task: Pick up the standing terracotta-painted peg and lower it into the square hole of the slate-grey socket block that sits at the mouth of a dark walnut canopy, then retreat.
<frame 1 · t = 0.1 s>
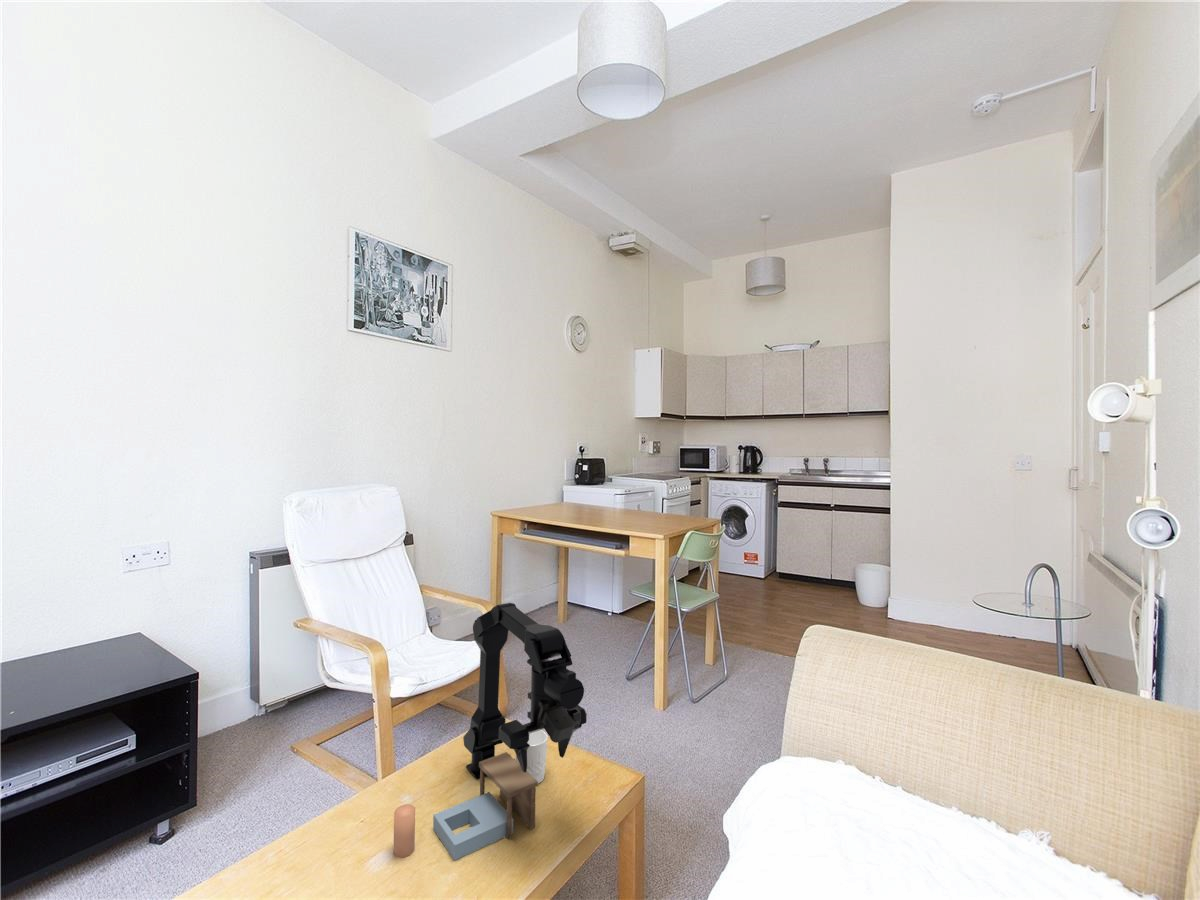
hand: (543, 763, 115), 15 cm above the table, fingers open, 9 cm apart
socket block: (461, 835, 114), on the table
peg: (404, 850, 109), on the table
white cup: (530, 778, 135), on the table
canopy: (507, 793, 120), on the table
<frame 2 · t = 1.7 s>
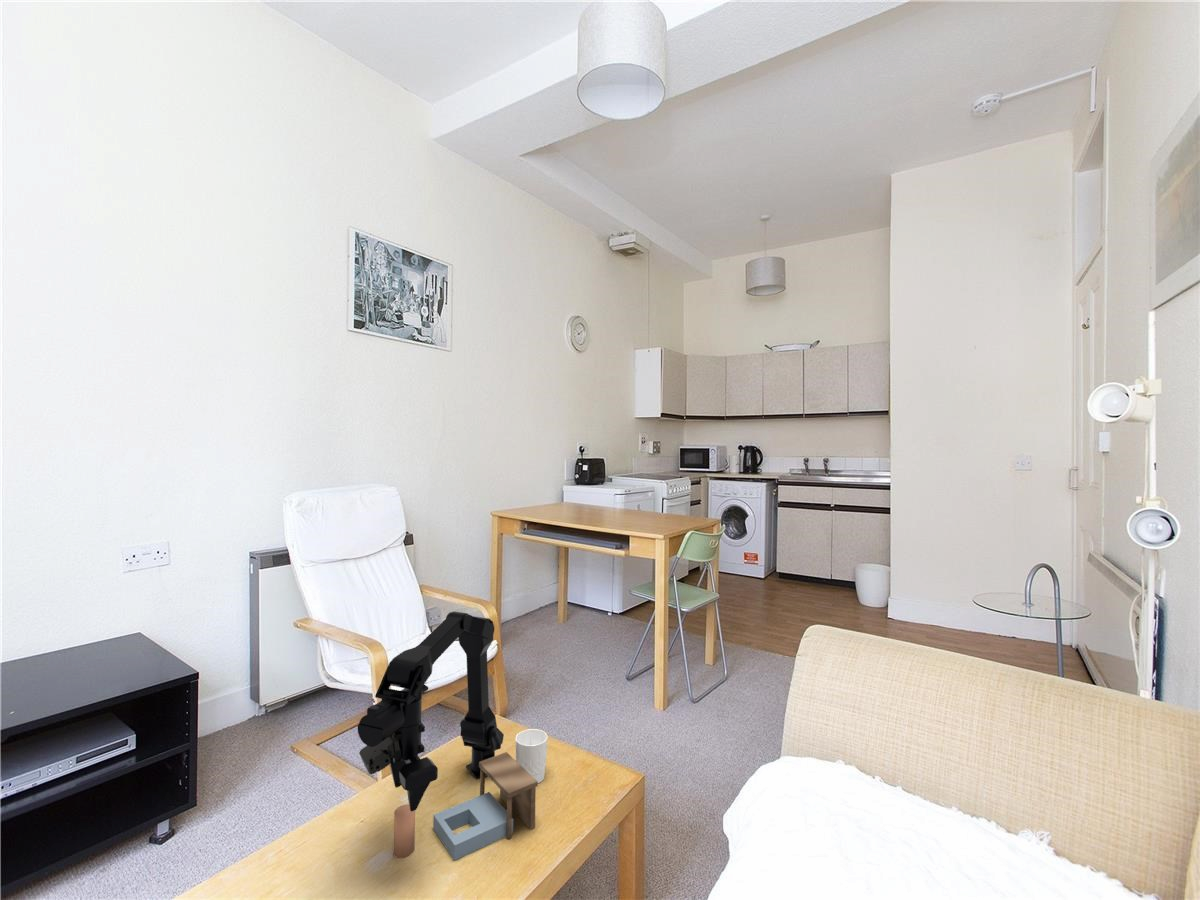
hand: (405, 798, 110), 10 cm above the table, fingers open, 9 cm apart
nothing on the table moved.
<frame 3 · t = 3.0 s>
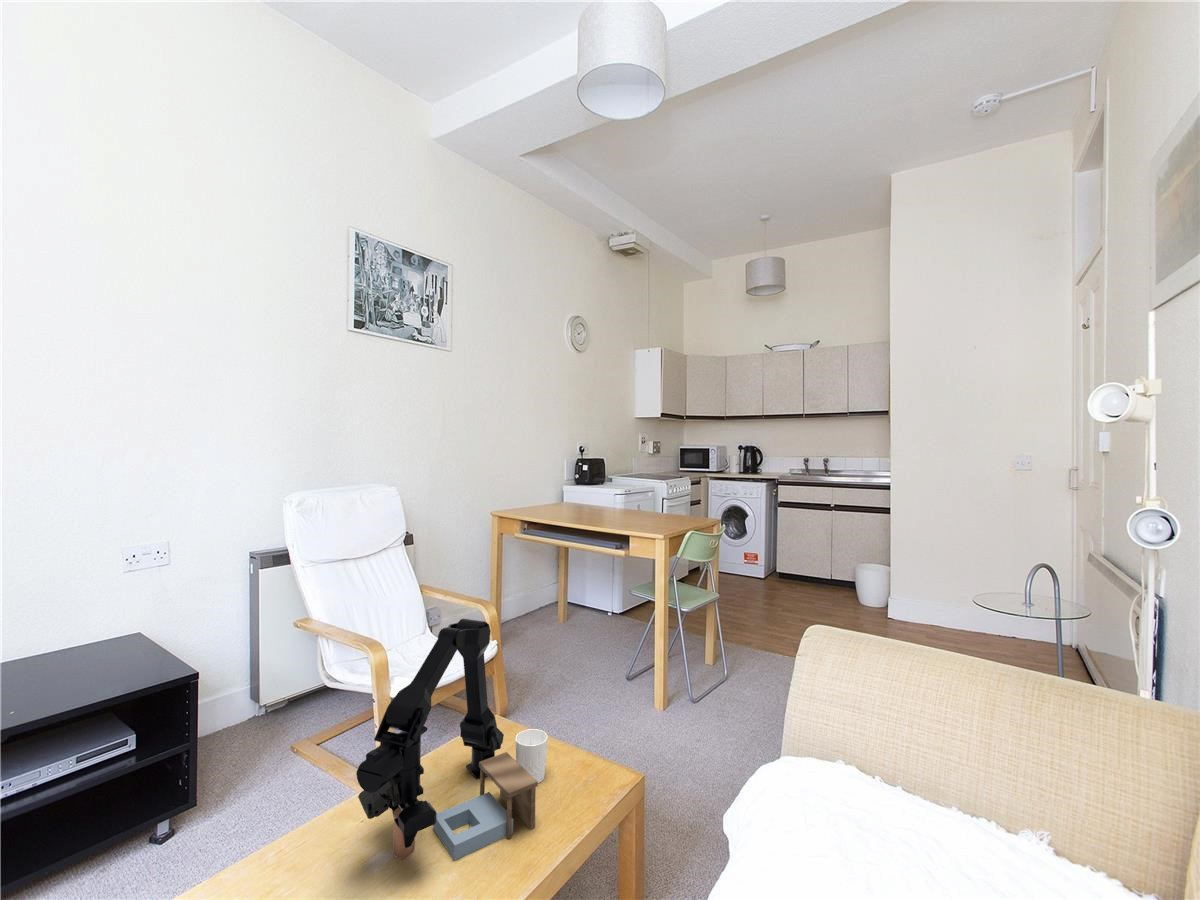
hand: (404, 840, 110), 2 cm above the table, fingers closed on peg, 4 cm apart
peg: (404, 850, 109), on the table, touching gripper
everything else where it was.
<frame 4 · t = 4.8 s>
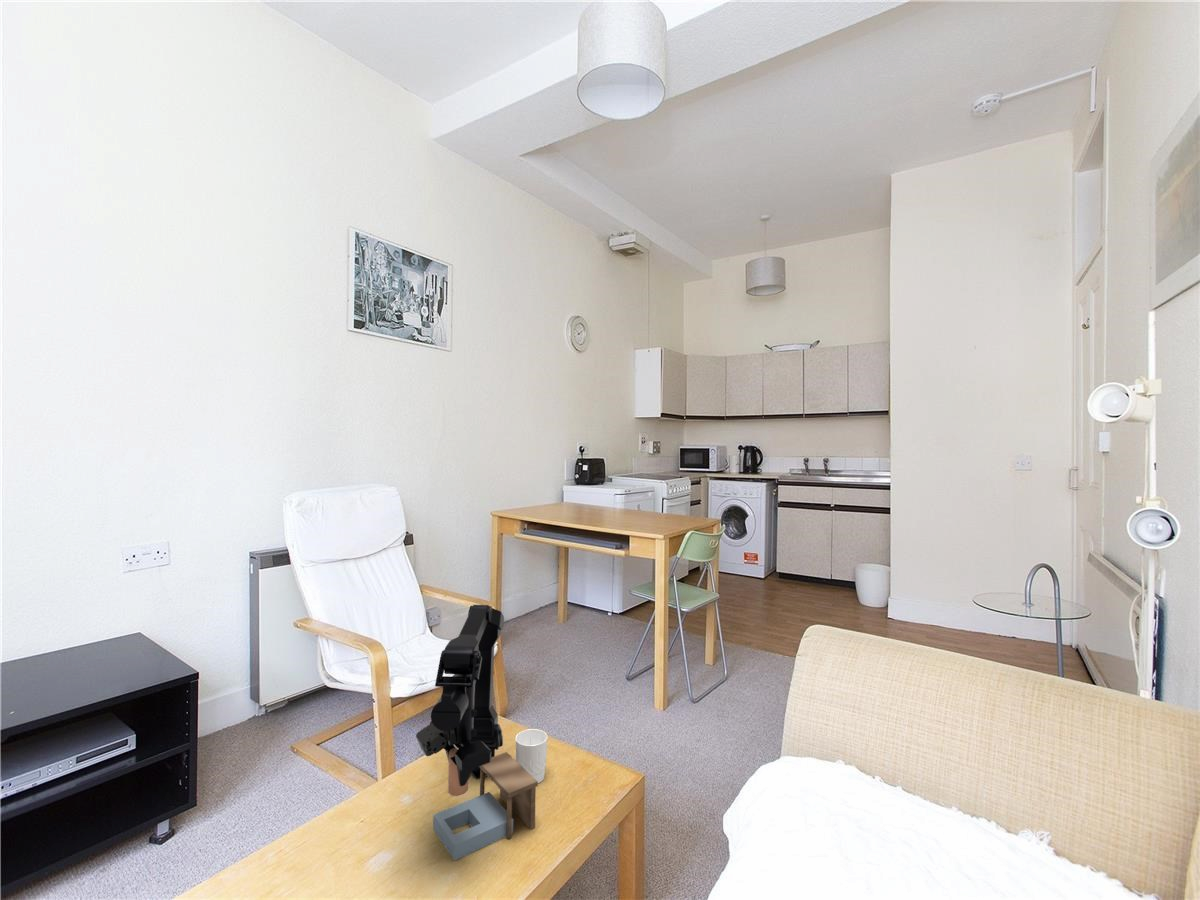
hand: (458, 780, 114), 12 cm above the table, fingers closed on peg, 4 cm apart
peg: (458, 789, 114), point 10 cm above the table, touching gripper
everything else where it was.
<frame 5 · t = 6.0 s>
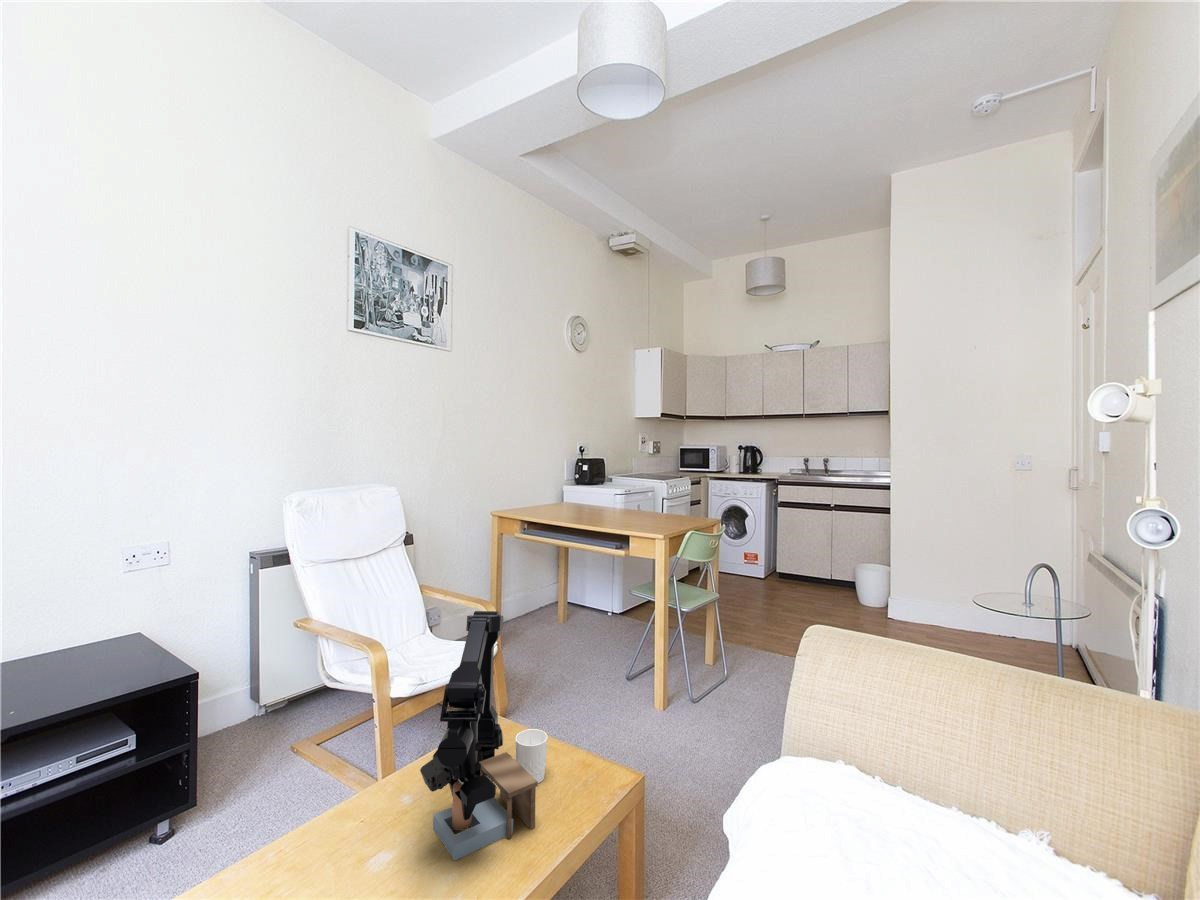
hand: (462, 813, 114), 5 cm above the table, fingers closed on peg, 4 cm apart
peg: (461, 823, 114), point 3 cm above the table, touching gripper
everything else where it was.
when the fingers open (3 cm above the table, at t = 6.6 s): peg stays where it is, resting in socket block.
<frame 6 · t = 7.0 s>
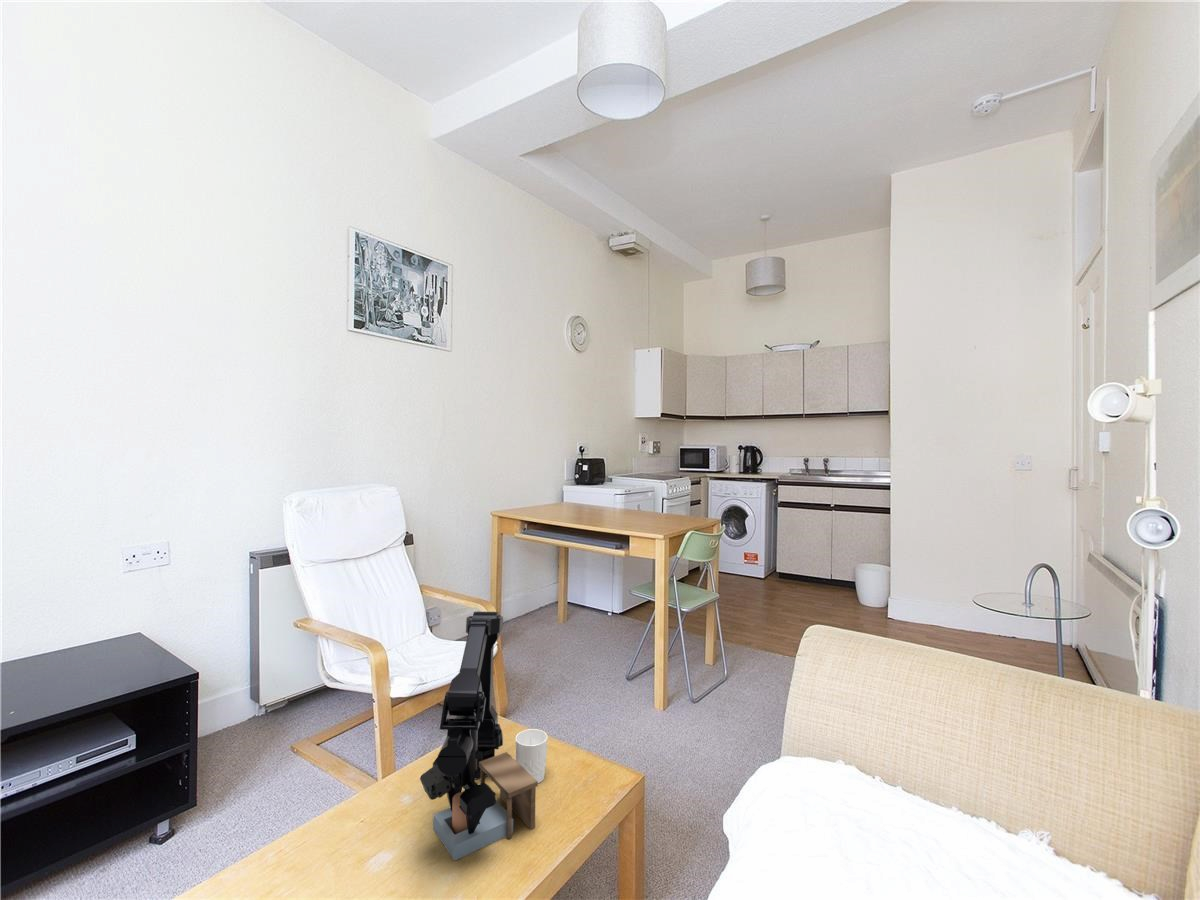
hand: (462, 821, 114), 3 cm above the table, fingers open, 8 cm apart
peg: (461, 835, 114), resting in socket block
everything else where it was.
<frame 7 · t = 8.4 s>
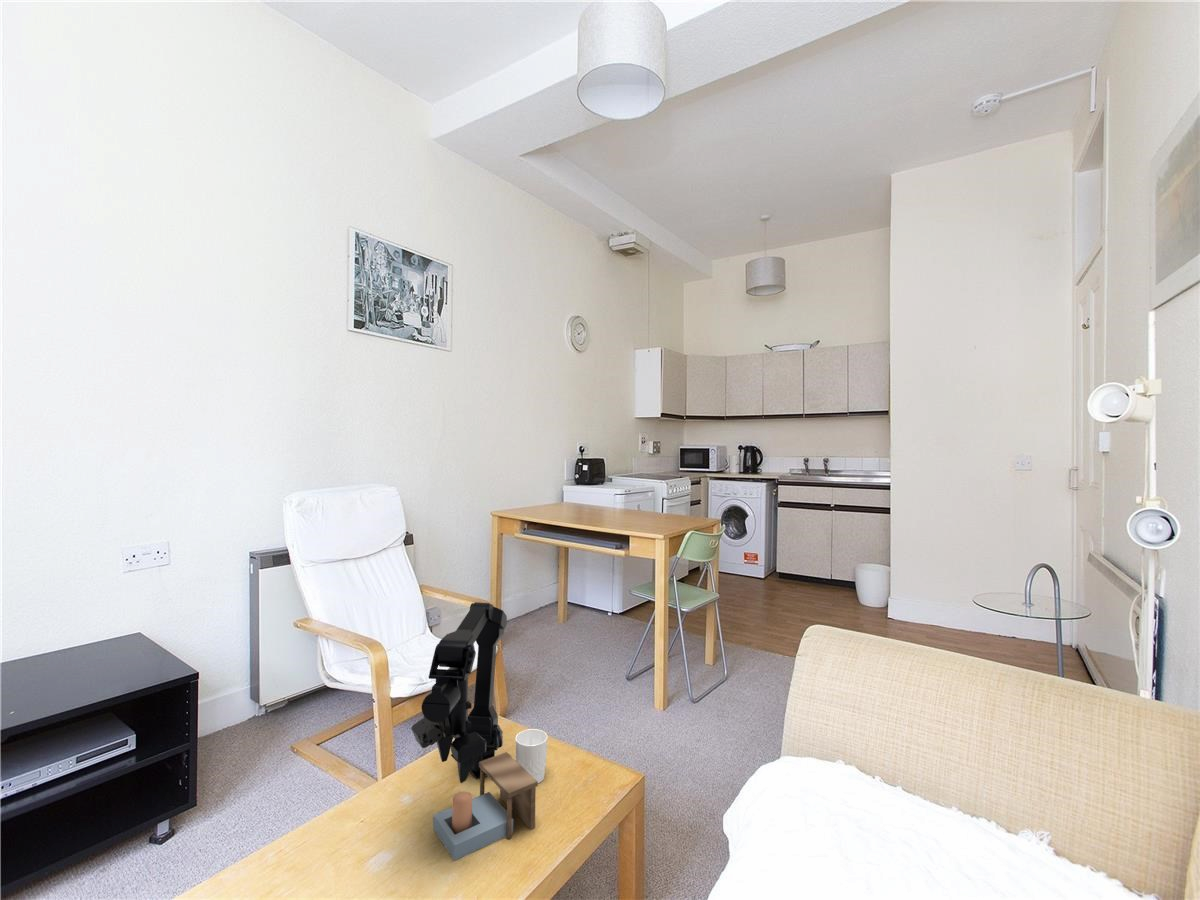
hand: (453, 771, 116), 12 cm above the table, fingers open, 9 cm apart
nothing on the table moved.
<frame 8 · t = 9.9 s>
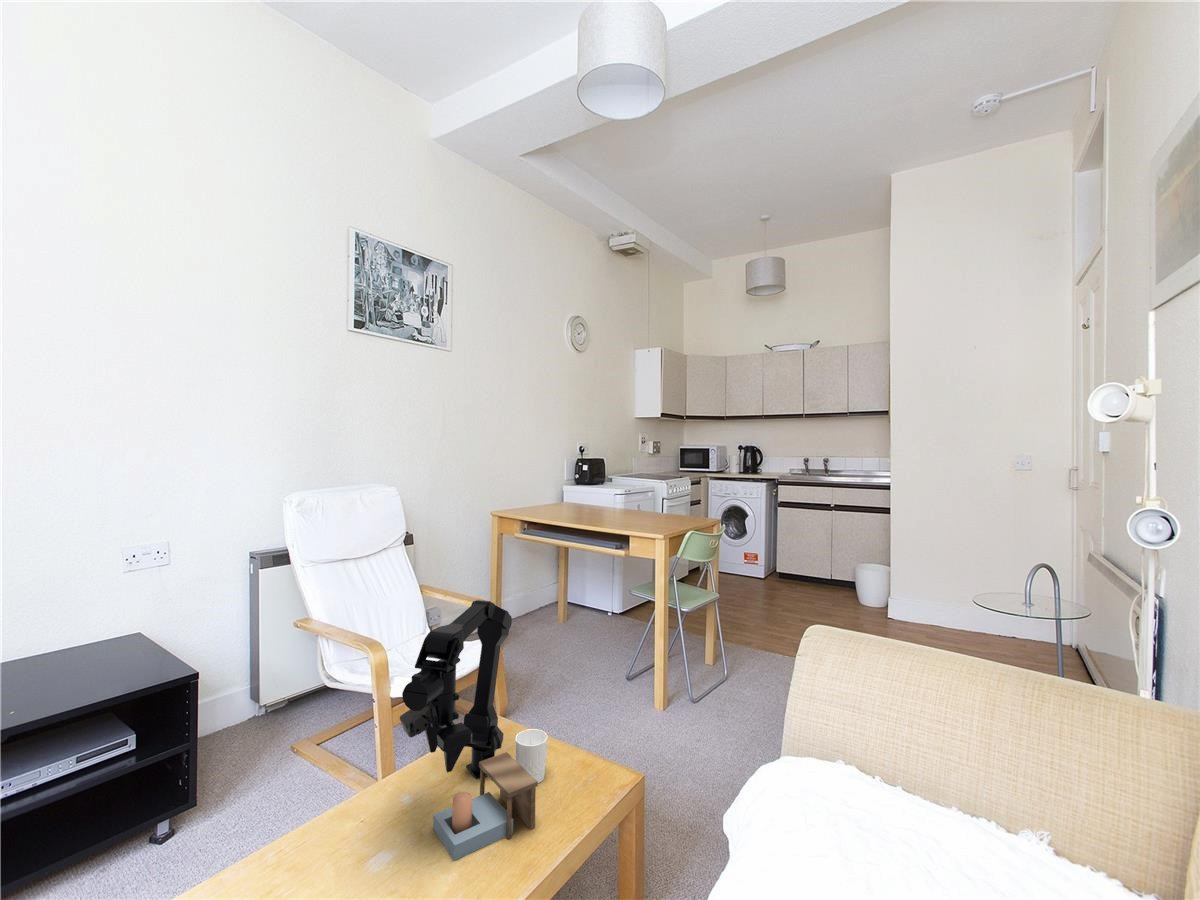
hand: (440, 761, 118), 13 cm above the table, fingers open, 9 cm apart
nothing on the table moved.
at the end: peg 0.0 cm off-centre on the socket block, point 0.0 cm above the socket block's base; peg tilted 0°; the gripper is holding nothing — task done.
